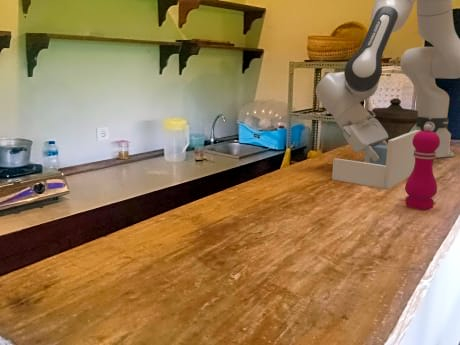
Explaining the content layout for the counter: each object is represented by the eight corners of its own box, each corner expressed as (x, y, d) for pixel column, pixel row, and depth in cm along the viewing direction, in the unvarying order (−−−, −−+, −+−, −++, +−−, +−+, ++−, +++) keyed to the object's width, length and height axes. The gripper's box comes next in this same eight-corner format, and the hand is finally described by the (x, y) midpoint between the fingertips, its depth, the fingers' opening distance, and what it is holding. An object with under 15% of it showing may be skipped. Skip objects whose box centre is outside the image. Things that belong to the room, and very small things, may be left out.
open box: (364, 167, 156) (368, 125, 152) (415, 175, 146) (420, 130, 143) (331, 182, 137) (334, 134, 133) (387, 192, 127) (392, 140, 124)
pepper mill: (401, 207, 115) (409, 124, 110) (405, 199, 121) (413, 121, 116) (433, 212, 112) (443, 127, 107) (436, 204, 118) (446, 123, 113)
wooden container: (419, 168, 156) (426, 100, 151) (373, 167, 157) (379, 99, 151) (403, 158, 171) (410, 96, 165) (362, 158, 171) (367, 96, 166)
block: (374, 173, 144) (377, 144, 142) (391, 176, 141) (394, 146, 139) (368, 176, 140) (371, 146, 138) (385, 179, 137) (388, 148, 135)
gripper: (347, 117, 132) (379, 156, 129) (374, 110, 148) (403, 145, 145) (331, 131, 136) (361, 169, 132) (359, 123, 152) (387, 158, 148)
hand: (383, 157), depth 139 cm, fingers open, 8 cm apart
